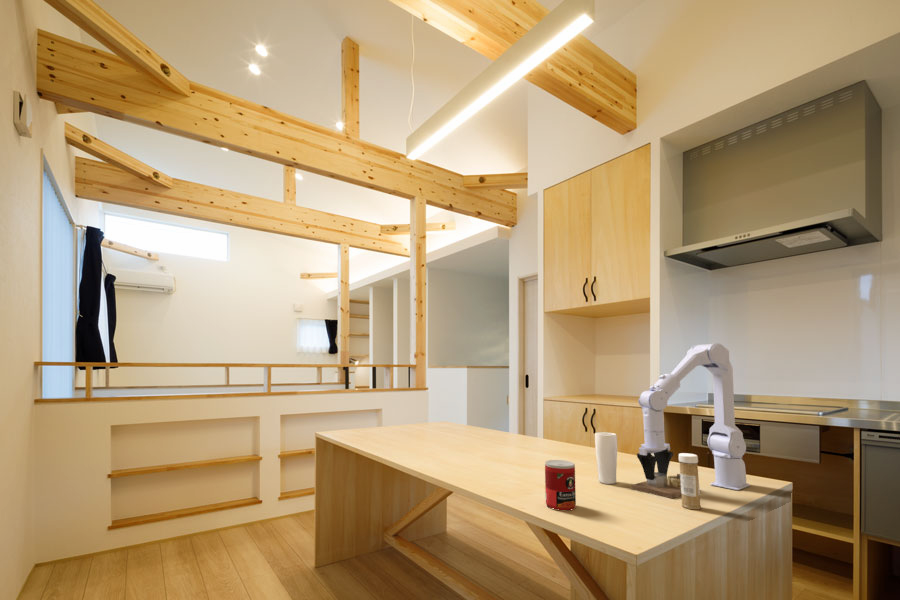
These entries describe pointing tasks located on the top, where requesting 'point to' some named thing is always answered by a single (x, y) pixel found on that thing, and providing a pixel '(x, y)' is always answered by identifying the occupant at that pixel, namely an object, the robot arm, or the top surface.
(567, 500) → the canned food
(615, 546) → the top surface
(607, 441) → the drinking glass
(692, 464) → the sprinkles bottle
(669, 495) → the gear board
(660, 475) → the loose gear
